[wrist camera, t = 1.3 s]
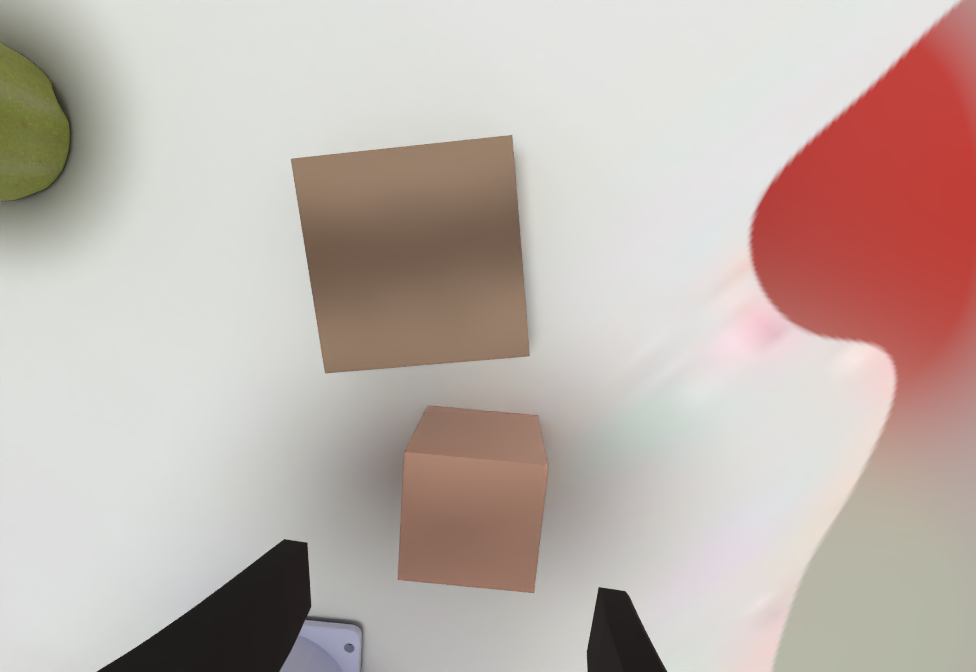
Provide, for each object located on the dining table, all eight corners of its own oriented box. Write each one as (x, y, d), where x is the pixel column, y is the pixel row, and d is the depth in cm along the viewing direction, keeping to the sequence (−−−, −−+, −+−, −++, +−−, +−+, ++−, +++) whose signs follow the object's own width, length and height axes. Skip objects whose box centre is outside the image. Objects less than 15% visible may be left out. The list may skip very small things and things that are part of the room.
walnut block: (525, 341, 20) (529, 356, 17) (350, 356, 21) (325, 373, 18) (510, 154, 19) (512, 134, 16) (323, 173, 19) (290, 158, 16)
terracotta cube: (527, 515, 21) (534, 593, 16) (421, 505, 21) (397, 579, 16) (537, 414, 20) (548, 465, 16) (428, 405, 21) (404, 452, 16)
